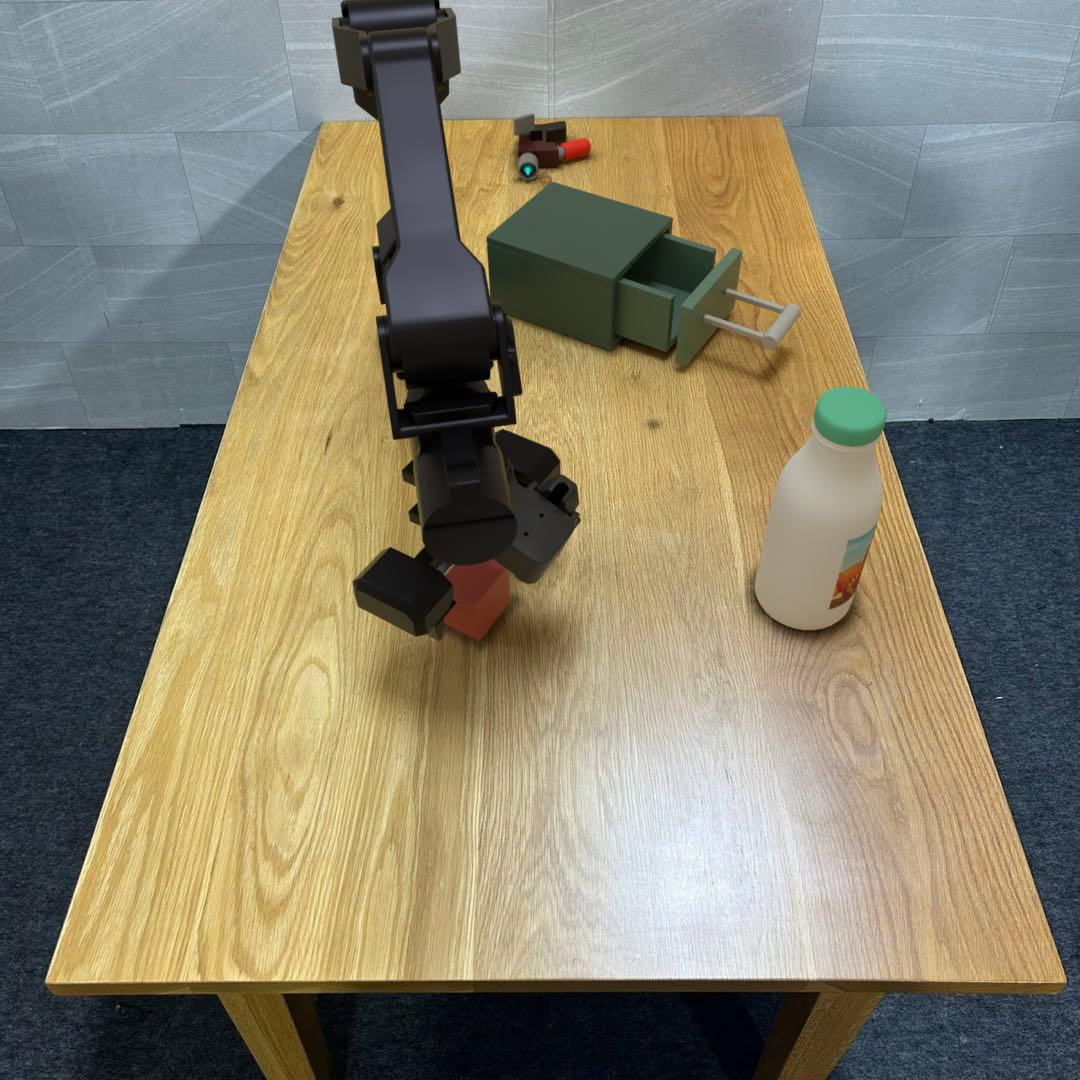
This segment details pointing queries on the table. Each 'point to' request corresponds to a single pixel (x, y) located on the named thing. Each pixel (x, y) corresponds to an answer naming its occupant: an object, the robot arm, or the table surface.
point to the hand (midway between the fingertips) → (470, 597)
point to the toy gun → (544, 145)
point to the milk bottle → (824, 514)
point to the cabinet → (569, 260)
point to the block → (478, 597)
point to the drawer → (688, 299)
